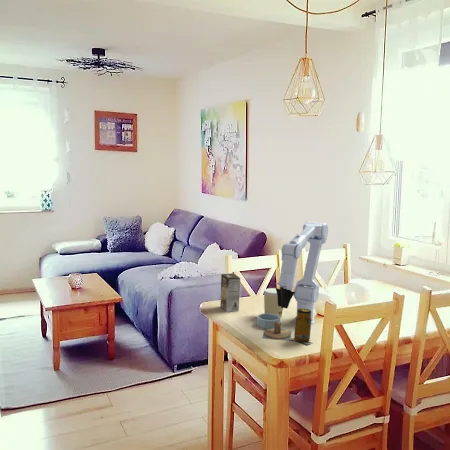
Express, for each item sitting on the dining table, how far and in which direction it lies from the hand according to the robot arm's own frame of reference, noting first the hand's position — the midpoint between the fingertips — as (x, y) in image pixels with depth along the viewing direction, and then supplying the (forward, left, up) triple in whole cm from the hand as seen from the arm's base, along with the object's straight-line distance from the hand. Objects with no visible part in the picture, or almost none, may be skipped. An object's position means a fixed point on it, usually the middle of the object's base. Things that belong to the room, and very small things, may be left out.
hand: (282, 307), depth 190 cm
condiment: (+3, +9, -12) cm, 15 cm away
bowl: (-12, -6, -12) cm, 18 cm away
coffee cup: (-25, -5, -12) cm, 28 cm away
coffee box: (-31, -26, -12) cm, 42 cm away
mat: (-1, -2, -12) cm, 12 cm away
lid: (-1, -2, -12) cm, 12 cm away
